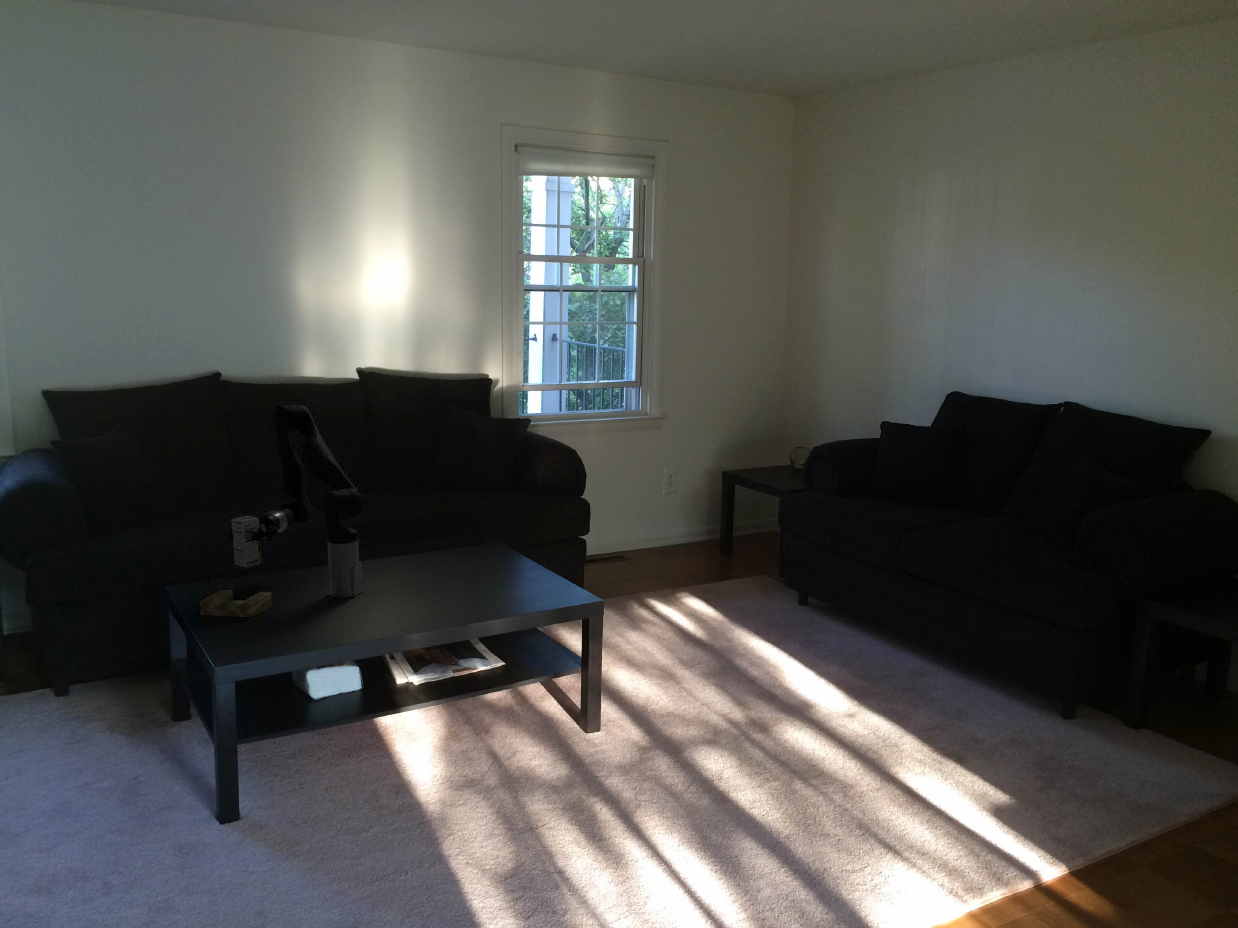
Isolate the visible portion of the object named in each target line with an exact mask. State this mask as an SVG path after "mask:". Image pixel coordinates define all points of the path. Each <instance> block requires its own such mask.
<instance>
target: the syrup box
mask: <svg viewBox="0 0 1238 928" xmlns="http://www.w3.org/2000/svg"><path fill="white" fill-rule="evenodd" d="M258 517H259V516H255V515H246V516H240V517H236V518H232V519H231V528H232V533H233V540H232V542H233V543H232V545H233V556H234V565H236V566H238V567H243V568H248V567H251V566H252V567H253V566H256V565H261V564H262V563H263V561H262V559H263V558H262V557H263V556H262V547H261V546H262V545H261V544H262V543H261V539H260V540H258V541H255V540H254V534H255V533H257V532H259V531H260V527H259V518H258Z"/></svg>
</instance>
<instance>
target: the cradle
mask: <svg viewBox="0 0 1238 928" xmlns="http://www.w3.org/2000/svg"><path fill="white" fill-rule="evenodd" d="M233 592H234V591H233V589H221V590H219V591H217V592H215V593H213V594H212V595H209V596H208V597H205V598H204V599H202V600H200V601H199V610H200V616H216V617H217V616H218V617H231V616H232V617H235V618H251V619H252V618H253V617H255V616H257V615H258V614H260V613H261V612H264V611H265V610H266V609H268V608H269V607H271V606H272V605H273V599H272V592H270V591H268V592H267V591H259V592H257V593H255V594H254V595H252V596H251V597H249V598H247V599H246V600H242V599H241V600H240V599H237V600H236V599H234V595H233Z"/></svg>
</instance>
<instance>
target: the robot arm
mask: <svg viewBox="0 0 1238 928" xmlns="http://www.w3.org/2000/svg"><path fill="white" fill-rule="evenodd" d="M272 421H273V429H274V434H275V438H276V445H277V450H278V453H279V459H280V464H281V465H280V466H281V477H282V478H281V479H282V481H281V482H282V491H283V494H284V495H285V496H291V497H293V498H294V500H295V501H294V502H285V503H281V504H280V505H279V506H278V507H277V508H276V509H274V510H271V511H268V512H266V513H264V514H261V515H259V516H257V517H258V518H259V527H260V531H259V532H257V533H255V534H254V540H255V541H258V540H260V541H261V540H268V539H273V538H275V537H277V536H280V535H281V533H282V532H283V531H284V530H287V529H289V528H291V526H293V524H306V523H308V522H310V520H311V518H312V515H313V510H312V506H311V503H310V500H309V497H308V494H307V489H306V481H305V469H304V467H303V464H304V466H305V468H306V470H307V472H308V473H309V474H310V476H311V477H313V478H315V480H318V481H319V482H321V483H323V484H324V485H327V486H329V487H330V488H332V489H333V490H330V491H327V492H326V493H325V495H324V497H323V512H324V523H325V532H326V537H327V538H326V539H327V556H328V559H327V561H328V580H329V581H328V582H329V584H328V585H329V595H330V596H331V597H333V598H343V599H344V598H352V597H353V598H354V597H357V596H359V594H361V593H362V592H364V591H363V590H364V589H363V563H362V562H361V561H360V553H359V552H360V551H359V534H358V533H359V532H358V530H357V529H354V528H350V527H345V526H344V525H343V524H342V520H347V519H354V518H357V517H359V516H361V515H362V514H363V512H364V502H363V498H362V496H361V494H360V492H359V491H358V489H357V488H356V486H355V485H354V483H352V481H350V479H349V478H348V477H347V475H346V474H345V473H344V471H343V469H342V468H341V466H340V465H339V463H338V461H337V460H336V457H335V455H334V454H333V453H332V451H331V450H330V448H329V446H328V445H327V443H326V442H325V440H324V439H323V438H324V437H323V436H322V434H321V432H320V431H319V430H318V427H317V424H316V422H315V419H313V415H312V414H311V412H310V410H309V409H308V407H307V406H305V405H304V404H297V403H296V404H278V405H277V406H276V407H274V410H273V415H272ZM289 433H300V434H301V435H302V436H303V437H304V442H303V444H302V447H301V448H302V449H301V452H300V458H301V461H302V462H301V461H300V459H299V456H297V454H296V452H295V451H294V449H293V447H292V445H291V443H290V439H289ZM302 463H303V464H302ZM229 530H230V532H229V533H228V538H229V540H232V541H233V533H232V527H230V529H229Z"/></svg>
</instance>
